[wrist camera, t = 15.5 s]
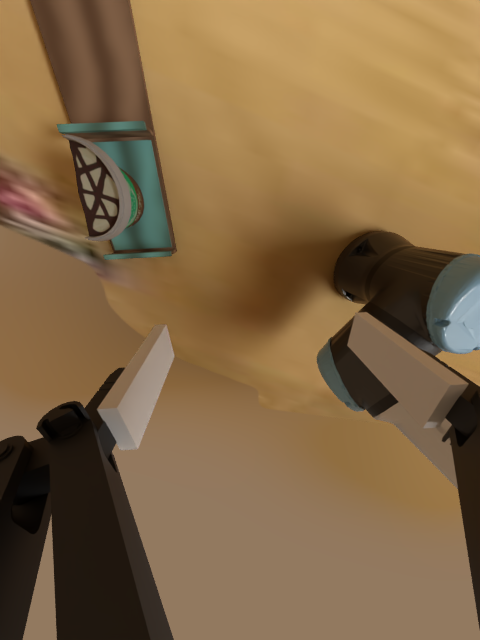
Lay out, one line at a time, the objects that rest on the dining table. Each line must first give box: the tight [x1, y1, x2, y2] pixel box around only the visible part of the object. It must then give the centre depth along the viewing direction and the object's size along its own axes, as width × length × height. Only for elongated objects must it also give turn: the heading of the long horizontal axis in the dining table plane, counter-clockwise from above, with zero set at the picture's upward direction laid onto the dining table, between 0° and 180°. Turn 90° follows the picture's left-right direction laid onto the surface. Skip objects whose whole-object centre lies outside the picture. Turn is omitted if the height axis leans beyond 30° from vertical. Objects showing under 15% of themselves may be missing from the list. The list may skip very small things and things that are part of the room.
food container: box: [62, 134, 144, 241], centre depth 30 cm, size 12×6×10 cm, turn 173°
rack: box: [30, 0, 177, 260], centre depth 30 cm, size 12×36×5 cm, turn 3°
